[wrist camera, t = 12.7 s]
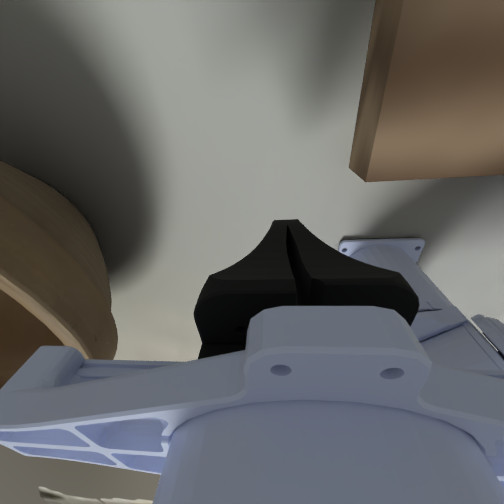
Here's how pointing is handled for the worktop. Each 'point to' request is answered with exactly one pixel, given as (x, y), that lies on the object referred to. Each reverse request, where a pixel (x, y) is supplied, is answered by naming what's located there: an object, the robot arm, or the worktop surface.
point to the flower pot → (49, 276)
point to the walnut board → (432, 91)
